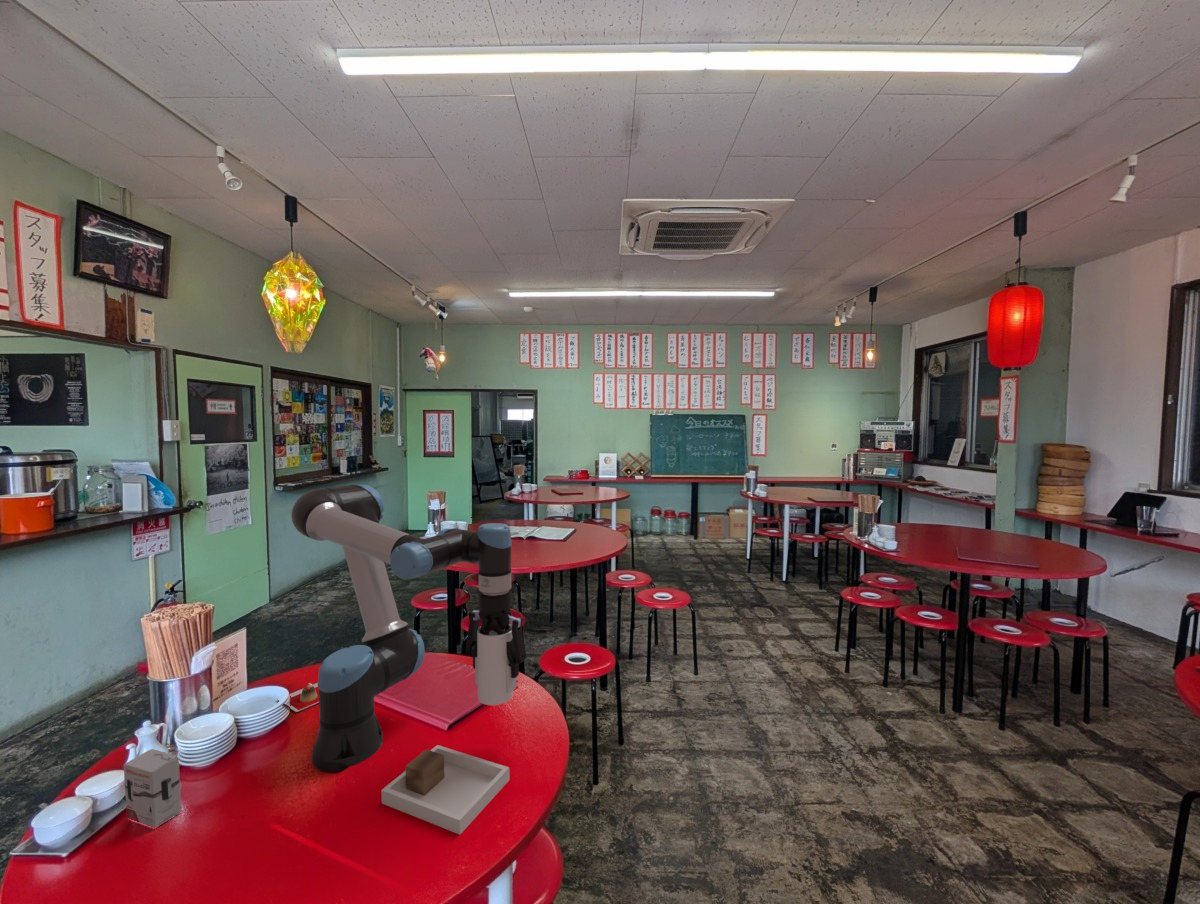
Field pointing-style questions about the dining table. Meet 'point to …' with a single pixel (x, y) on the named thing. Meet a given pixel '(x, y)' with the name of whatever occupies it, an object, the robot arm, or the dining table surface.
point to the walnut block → (424, 772)
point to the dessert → (306, 695)
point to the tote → (451, 791)
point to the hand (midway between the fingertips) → (495, 686)
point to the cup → (493, 667)
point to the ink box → (152, 787)
